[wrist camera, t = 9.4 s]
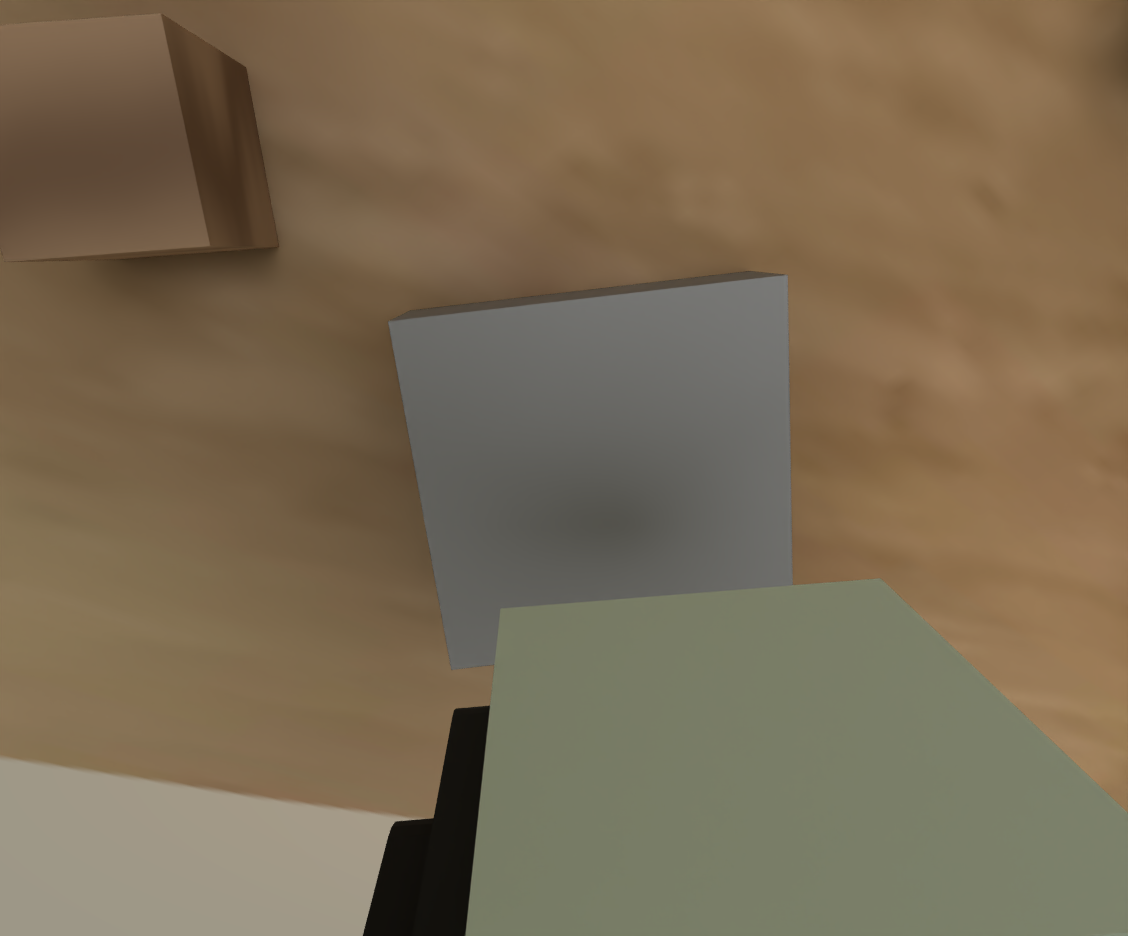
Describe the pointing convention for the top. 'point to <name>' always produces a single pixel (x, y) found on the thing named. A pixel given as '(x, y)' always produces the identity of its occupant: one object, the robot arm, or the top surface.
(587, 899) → the sage cube
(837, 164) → the top surface
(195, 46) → the walnut cube
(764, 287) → the base block
